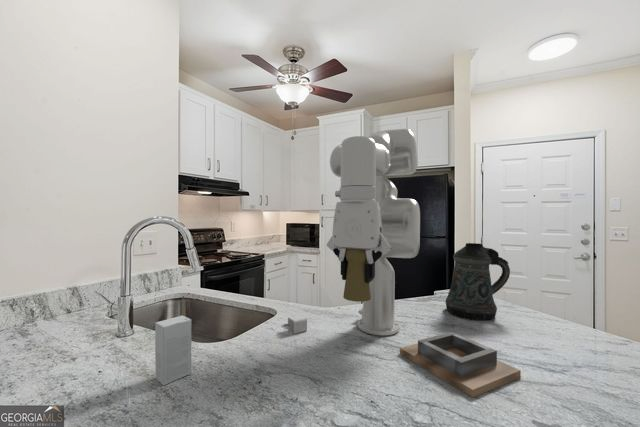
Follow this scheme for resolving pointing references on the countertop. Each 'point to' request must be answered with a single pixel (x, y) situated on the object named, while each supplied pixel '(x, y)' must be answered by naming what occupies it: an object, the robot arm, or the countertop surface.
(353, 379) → the countertop surface
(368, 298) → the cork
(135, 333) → the countertop surface
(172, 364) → the skincare box
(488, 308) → the beer stein
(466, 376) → the shaker holder
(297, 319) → the usb wall charger
